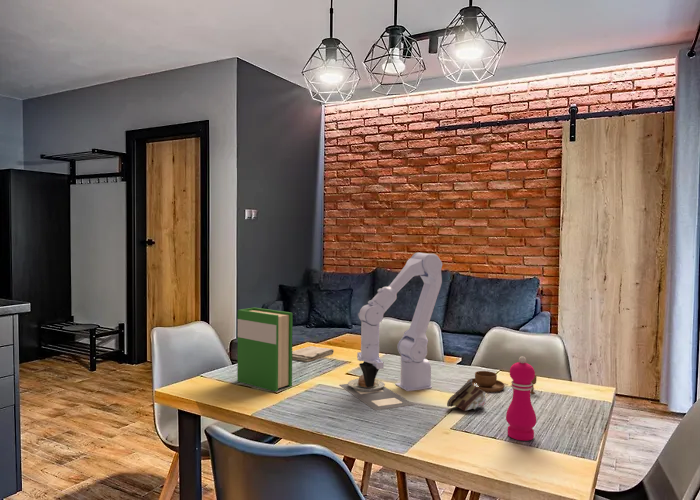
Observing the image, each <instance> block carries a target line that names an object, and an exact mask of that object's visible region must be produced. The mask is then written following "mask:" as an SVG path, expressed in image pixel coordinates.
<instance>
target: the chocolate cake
mask: <svg viewBox="0 0 700 500" xmlns="http://www.w3.org/2000/svg"><path fill="white" fill-rule="evenodd" d="M469 379H470V380H469ZM469 379H468V380H469V381H468V380H467V381H468V382H467V381H466V382H465V383H464V384H463V385H462V386H461V387H460V388H459V389H458V390H457V391H456V392H455V393H454V394H452V395H451V396H450V397H449V398H448V400H447V403H446V407H451V408H452V407H456V408H459V409H460V410H461V411H463V412H465V411H469V410H472V409H473V410H475V411H479V408H484V407H485V406H486V400H487V399H486V393H487V392H484V391H482V390H481V389H479V388H477V387H476V386H474V385H473V384H472V379H473V378H469Z"/></svg>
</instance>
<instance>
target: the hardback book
mask: <svg viewBox="0 0 700 500" xmlns="http://www.w3.org/2000/svg"><path fill="white" fill-rule="evenodd" d="M293 323H294V322H293V312H289V311H283V310H276V309H267V308H263V307H262V308H259V307H250V308H249V307H248V308H241V309H237V369H236V371H237V373H236V374H237V376H236V378H237V379H236V381H237V382H240V383H244V384H247V385H251V386H253V387H257V388H262V389H265V390H269V391H272V392H279V389H280V388H284V387H289V388H290V387H292V386H293V359H292V351H293Z"/></svg>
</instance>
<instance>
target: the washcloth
mask: <svg viewBox="0 0 700 500" xmlns="http://www.w3.org/2000/svg"><path fill="white" fill-rule="evenodd" d="M334 351H335V350H334V349H332V348H327V347H319V346H318V347H317V346H312V345H311V346H307V347H302V348H299V349H296V350H292V361H293V360H294V361H299V362H305V363H309V362H313V361H316V360H320V359H323V358H325V357H328V356H331V355H333V354H334Z"/></svg>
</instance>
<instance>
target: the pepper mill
mask: <svg viewBox="0 0 700 500" xmlns="http://www.w3.org/2000/svg"><path fill="white" fill-rule="evenodd" d="M535 375H536V372H535V369H534V367H533V366H532V365H531V364H529V363H528V362H527V358H526V357H525V356H522V355H521V356H520V357H519V358H518V362H515V363H513V364H512V365H511V366H510V368H509V376H510V378H511V379H512V381H511V385H510V387H511V388H512V400H511V401H510V403H509V406H508V408H507V410H506V413H505V420H506V422H507V424H508V426H507V436H508V437H509V438H511V439H514V440H517V441H521V442H522V441H526V442H527V441H532V440H533V439H534V438H535V430H534V429H533V428H534V427H535V426H536V424H537V415H536V410H534V407H533V404H532V401H531V400H532V399H531V394H530V392H531V390H532V385H534V384H532V383H531V381H532V380H533V379H534V377H535Z"/></svg>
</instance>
